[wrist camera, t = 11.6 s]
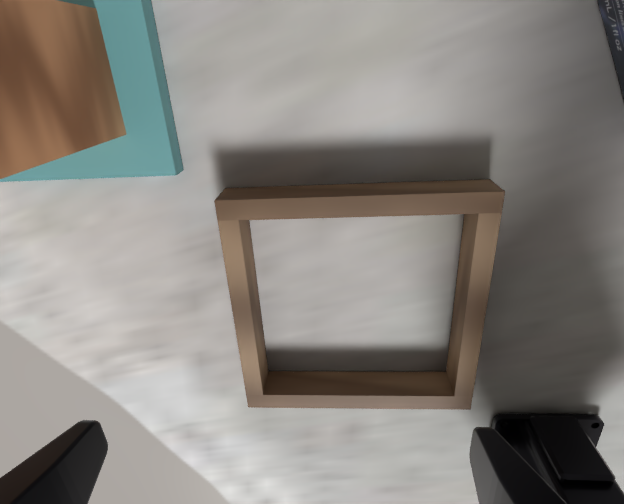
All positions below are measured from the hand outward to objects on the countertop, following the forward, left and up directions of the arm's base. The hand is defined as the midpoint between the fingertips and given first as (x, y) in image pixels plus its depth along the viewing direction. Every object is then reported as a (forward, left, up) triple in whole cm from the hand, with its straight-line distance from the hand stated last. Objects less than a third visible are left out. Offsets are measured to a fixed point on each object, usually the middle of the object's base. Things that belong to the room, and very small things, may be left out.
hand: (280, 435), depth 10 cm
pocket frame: (-4, -2, -13) cm, 14 cm away
